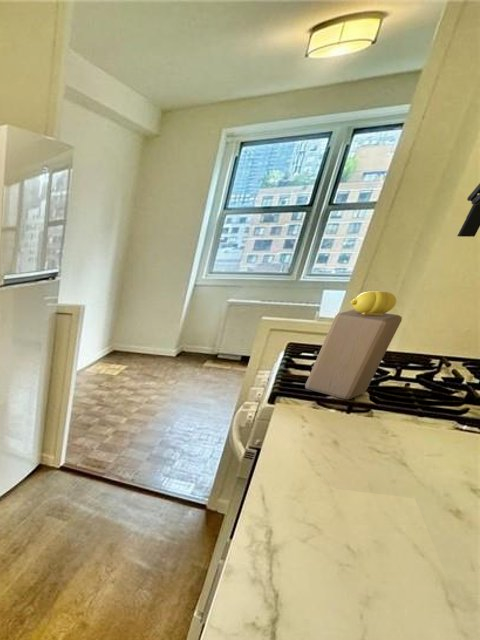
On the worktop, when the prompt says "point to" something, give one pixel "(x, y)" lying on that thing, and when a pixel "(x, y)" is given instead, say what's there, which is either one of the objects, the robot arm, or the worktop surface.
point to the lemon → (374, 303)
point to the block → (352, 353)
